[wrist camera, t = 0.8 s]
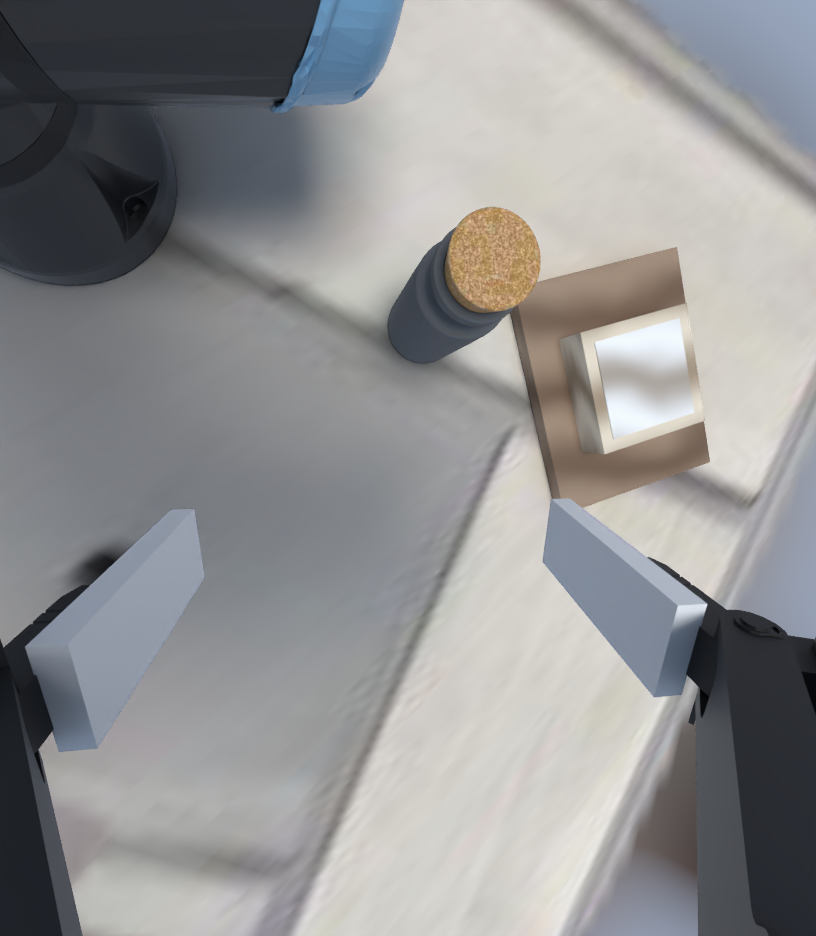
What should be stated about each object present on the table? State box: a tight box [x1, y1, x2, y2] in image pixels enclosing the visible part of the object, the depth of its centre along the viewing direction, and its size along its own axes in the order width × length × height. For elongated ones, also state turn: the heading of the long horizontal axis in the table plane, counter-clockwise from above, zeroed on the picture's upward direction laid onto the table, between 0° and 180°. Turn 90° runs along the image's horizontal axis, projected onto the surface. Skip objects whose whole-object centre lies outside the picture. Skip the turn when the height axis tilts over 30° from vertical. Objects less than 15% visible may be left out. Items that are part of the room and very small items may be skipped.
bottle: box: [388, 207, 540, 363], centre depth 27 cm, size 6×6×15 cm
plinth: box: [510, 247, 710, 508], centre depth 36 cm, size 20×16×5 cm
